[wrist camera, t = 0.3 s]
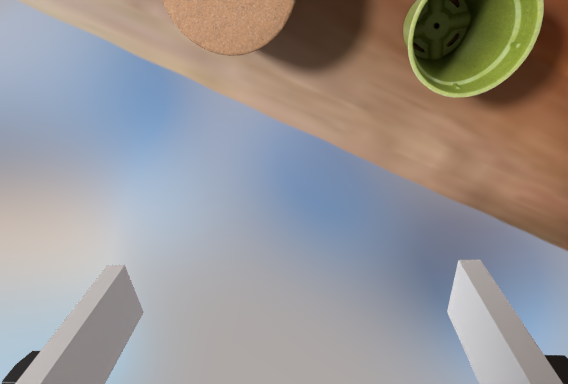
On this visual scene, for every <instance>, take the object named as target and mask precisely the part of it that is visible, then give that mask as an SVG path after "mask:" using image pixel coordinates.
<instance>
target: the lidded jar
mask: <svg viewBox="0 0 568 384" xmlns="http://www.w3.org/2000/svg"><path fill="white" fill-rule="evenodd" d="M162 1H163V3H164V5H165V7H166V10H167V12H168V14H169V15H170V17H171V18H172V20H173V22H174V23H175V24H176V26H177V27H178V28H179V29H180V30H181V32H182V33H183V34H184V35H186V36H187V37H188V38H189V39H190V40H191V41H193V42H194V43H196V44H197V45H198V46H200V47H202V48H204V49H206V50H208V51H211V52H214V53H217V54H222V55H229V56H230V55H243V54H247V53H251V52H253V51H256V50H258V49H260V48H262V47H263V46H265V45H267V44H268V43H269V42H270V41H272V40H273V39H274V38H275V37H276V36H277V35H278V34H279V32H280V31H281V30H282V29H283V27H284V26H285V24H286V22H287V21H288V19H289V17H290V15H291V12H292V10H293V7H294V4H295V0H162Z"/></svg>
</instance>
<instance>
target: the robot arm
mask: <svg viewBox="0 0 568 384" xmlns="http://www.w3.org/2000/svg"><path fill="white" fill-rule="evenodd" d="M447 312H448V315H449V317H450V319H451V321H452V323H453V326H454V328H455V330H456V333H457V335H458V337H459V339H460V342H461V344H462V346H463V348H464V350H465V353H466V355H467V357H468V359H469V362H470V364H471V366H472V368H473V371H474V373H475V375H476V377H477V380H478V382H479V384H568V358H567V357H565V356H562V355H561V356H560V355H558V356H557V355H544V354H543V353H542V351H541V350H540V348H539V347H538V345H537V344H536V342H535V341H534V339H533V338H532V336H531V335H530V333H529V332H528V331H527V329H526V328H525V326H524V324H523V323H522V321H521V320H520V318H519V317H518V315H517V314H516V312H515V311H514V309H513V308H512V306H511V305H510V303H509V302H508V300H507V299H506V297H505V296H504V294H503V293H502V291H501V290H500V288H499V287H498V286H497V284H496V282H495V281H494V280H493V278H492V277H491V275H490V273H489V272H488V271H487V269H486V267H485V266H484V265H483V263H482V262H481V260H459V261H458V266H457V270H456V274H455V279H454V284H453V288H452V293H451V297H450V302H449V306H448V311H447ZM142 314H143V310H142V307H141V305H140V303H139V300H138V297H137V295H136V292H135V290H134V287H133V285H132V282H131V280H130V277H129V275H128V273H127V270H126V267H125V265H118V266H117V265H115V266H113V265H112V266H106V268H105V269H104V270H103V272H102V273H101V274H100V275H99V277H98V278H97V279H96V281H95V282H94V283H93V284H92V286H91V287H90V288H89V290H88V291H87V292H86V294H85V295H84V296H83V297H82V299H81V300H80V301H79V302H78V304H77V305H76V306H75V308H74V309H73V310H72V311H71V313H70V314H69V315H68V317H67V318H66V319H65V320H64V322H63V323H62V324H61V326H60V327H59V328H58V329H57V331H56V332H55V333H54V335H53V336H52V337H51V338H50V340H49V341H48V342H47V344H46V345H45V346H44V347H43V349H42V350H41V351H32V352H31V353H29V354H28V355H27V356H26V357H25V358H23V359H22V360H21V361H20V362H19V363H17V364H16V365H15V366H14V367H13V369H12V370H11V371H10V372H9V373H8V375H7V376H6V377H5V378H4V380H3V381H2V384H105V383H106V381H107V379H108V377H109V375H110V373H111V371H112V370H113V368H114V366H115V364H116V362H117V360H118V358H119V357H120V355H121V352H122V351H123V349H124V347H125V345H126V344H127V342H128V340H129V338H130V336H131V335H132V332H133V331H134V329H135V327H136V325H137V323H138V322H139V320H140V318H141V316H142Z"/></svg>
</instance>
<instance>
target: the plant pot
mask: <svg viewBox="0 0 568 384" xmlns="http://www.w3.org/2000/svg"><path fill="white" fill-rule="evenodd" d="M457 1H458V2H459V7H456V6H455V5H454V3H452V2H451V1H449V0H417V1H416V2H415V3H414V4H413V5H412V7H411V8H410V10H409V12H408V13H407V16H406V18H405V21H404V28H403V36H404V42H405V44H406V46H407V48H408V56H409V60H410V64H411V67H412V69H413V71H414V73H415V75H416V76H417V78H418V79H419V80H420V81H421V82H422V83H423V84H424V85H425V86H426V87H427V88H429V89H430V90H432V91H433V92H435V93H438V94H440V95H443V96H447V97H469V96H474V95H478V94H481V93H483V92H486V91H488V90H490V89H492V88H494V87H496V86H497V85H499V84H500V83H502V82H503V81H505V80H506V79H507V78H508V77H510V76H511V75H512V74H513V73H514V72H515V71H516V70H517V69H518V68H519V66H520V65H521V64H522V63H523V62H524V60H525V59H526V58H527V56H528V55H529V53H530V51H531V50H532V48H533V46H534V44H535V42H536V40H537V37H538V35H539V32H540V28H541V24H542V19H543V14H544V13H543V10H544V5H543V0H457ZM435 23H438V24H439V25H440V26H439V28H437V29H435V28H434V24H435ZM457 33H459V36H458V38H457V40H456V41H455V42H454V43H453V44H452V45H451V46H447V44H448V43H449V42H450V41H451V40H452V39H453V38H454V36H455V35H456V34H457ZM413 43H416V44H417V45H418V46H419V47H420V48H422V49H424V52H420V51H419V50H417V49H415V48H414V46H413Z"/></svg>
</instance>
